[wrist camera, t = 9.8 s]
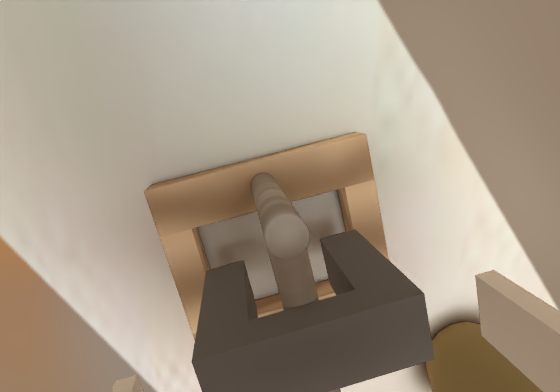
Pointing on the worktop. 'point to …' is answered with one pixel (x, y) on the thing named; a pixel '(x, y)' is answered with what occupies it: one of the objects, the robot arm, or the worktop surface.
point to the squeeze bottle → (472, 364)
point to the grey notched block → (312, 327)
